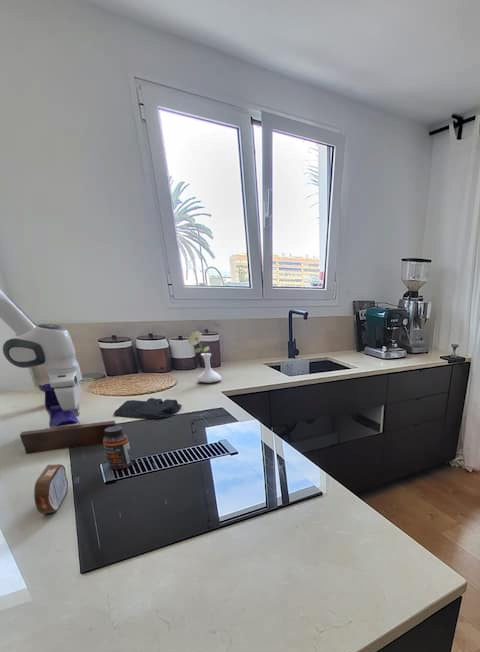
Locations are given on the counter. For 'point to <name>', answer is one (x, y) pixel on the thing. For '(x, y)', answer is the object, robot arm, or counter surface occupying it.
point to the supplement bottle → (117, 448)
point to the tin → (50, 488)
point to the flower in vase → (208, 373)
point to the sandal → (57, 409)
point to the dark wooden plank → (64, 436)
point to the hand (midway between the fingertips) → (76, 415)
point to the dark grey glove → (148, 408)
